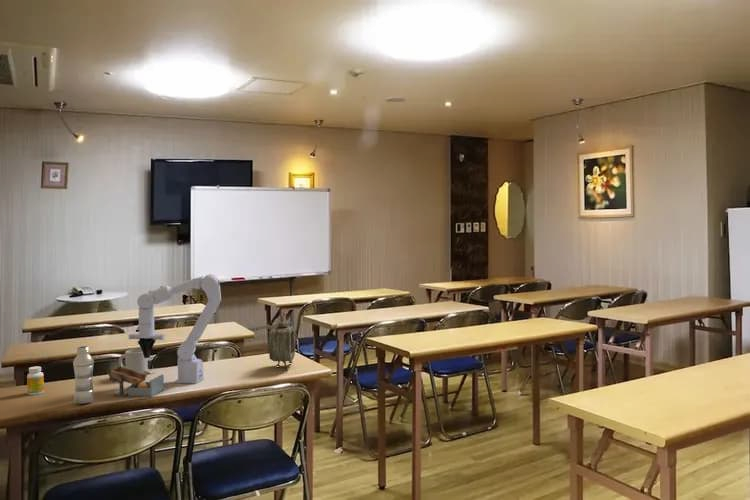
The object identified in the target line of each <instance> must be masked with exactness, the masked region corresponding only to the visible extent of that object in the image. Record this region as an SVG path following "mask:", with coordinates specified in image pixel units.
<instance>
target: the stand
mask: <svg viewBox="0 0 750 500" xmlns="http://www.w3.org/2000/svg"><path fill="white" fill-rule="evenodd" d="M117 383H119V391H117V392H115V393H113V397H125V398H126V397H129V396H128V387H129V386H128V387H125V388H124V381H123V378H119V379H118V380H117ZM131 385H133V384H131Z"/></svg>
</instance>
